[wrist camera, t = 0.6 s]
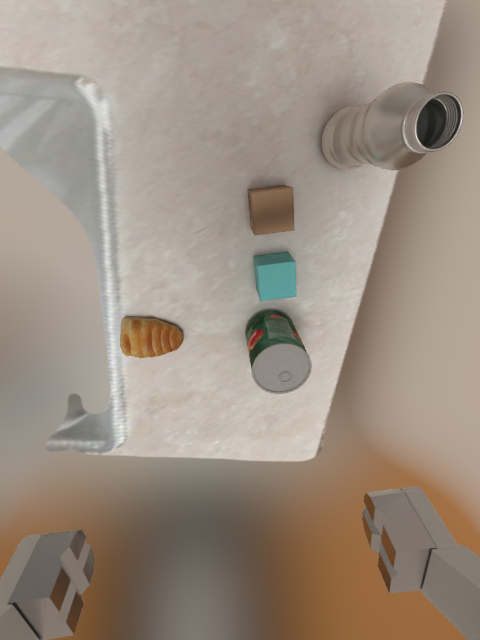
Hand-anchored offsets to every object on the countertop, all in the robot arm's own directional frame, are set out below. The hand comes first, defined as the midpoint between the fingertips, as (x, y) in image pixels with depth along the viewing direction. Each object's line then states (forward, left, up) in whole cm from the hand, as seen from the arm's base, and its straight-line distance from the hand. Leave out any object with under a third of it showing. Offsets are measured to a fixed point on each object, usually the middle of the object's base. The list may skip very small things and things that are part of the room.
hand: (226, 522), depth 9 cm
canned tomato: (+16, +6, -41) cm, 44 cm away
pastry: (+14, -13, -41) cm, 45 cm away
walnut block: (-3, +7, -40) cm, 41 cm away
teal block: (+6, +7, -40) cm, 41 cm away
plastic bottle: (-10, +17, -40) cm, 45 cm away
